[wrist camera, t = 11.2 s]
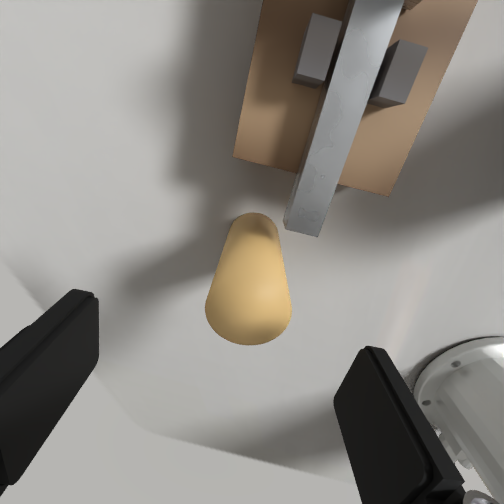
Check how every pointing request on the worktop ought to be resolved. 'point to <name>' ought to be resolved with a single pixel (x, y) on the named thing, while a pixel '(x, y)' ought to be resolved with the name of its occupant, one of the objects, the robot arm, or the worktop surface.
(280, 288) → the peg
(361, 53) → the lock pin
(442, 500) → the robot arm
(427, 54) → the socket block
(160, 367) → the worktop surface
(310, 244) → the worktop surface
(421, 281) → the worktop surface
